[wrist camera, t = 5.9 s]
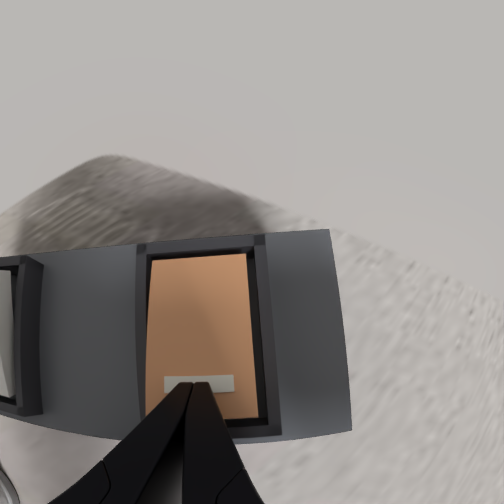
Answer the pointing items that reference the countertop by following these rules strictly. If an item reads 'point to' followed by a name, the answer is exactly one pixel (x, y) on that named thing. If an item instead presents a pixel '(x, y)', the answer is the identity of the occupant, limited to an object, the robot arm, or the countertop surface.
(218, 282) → the orange rocker
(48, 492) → the countertop surface
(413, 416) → the countertop surface
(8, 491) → the travel mug
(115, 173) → the countertop surface
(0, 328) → the white rocker
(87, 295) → the switch box
